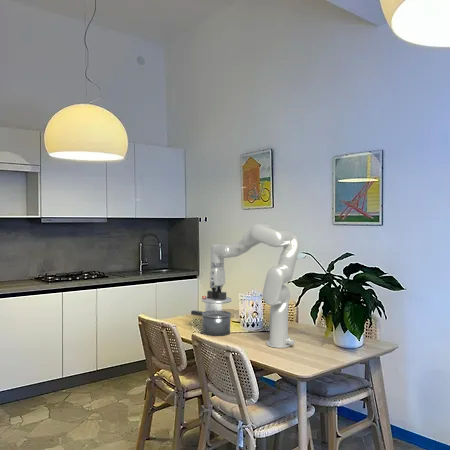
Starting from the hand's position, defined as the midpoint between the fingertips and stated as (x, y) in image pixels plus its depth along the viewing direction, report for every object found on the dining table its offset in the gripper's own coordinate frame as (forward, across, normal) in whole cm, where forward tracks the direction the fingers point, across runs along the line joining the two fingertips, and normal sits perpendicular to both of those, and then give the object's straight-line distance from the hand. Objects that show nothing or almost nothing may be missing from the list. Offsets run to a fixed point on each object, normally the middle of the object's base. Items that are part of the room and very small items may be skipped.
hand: (216, 297), depth 257 cm
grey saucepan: (+20, 0, +4) cm, 21 cm away
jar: (+21, +20, +15) cm, 32 cm away
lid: (+2, 0, 0) cm, 2 cm away
